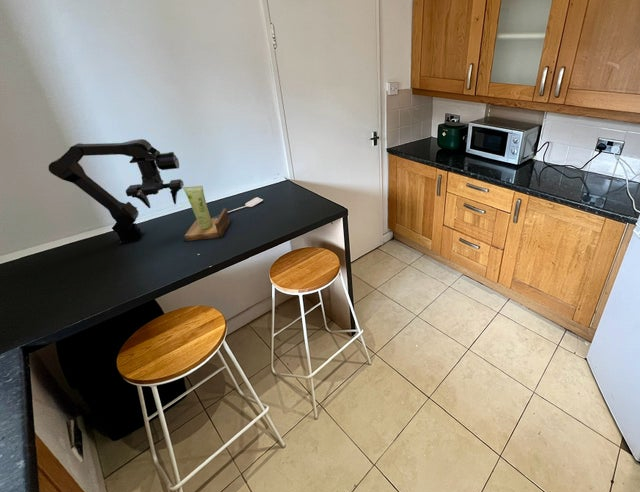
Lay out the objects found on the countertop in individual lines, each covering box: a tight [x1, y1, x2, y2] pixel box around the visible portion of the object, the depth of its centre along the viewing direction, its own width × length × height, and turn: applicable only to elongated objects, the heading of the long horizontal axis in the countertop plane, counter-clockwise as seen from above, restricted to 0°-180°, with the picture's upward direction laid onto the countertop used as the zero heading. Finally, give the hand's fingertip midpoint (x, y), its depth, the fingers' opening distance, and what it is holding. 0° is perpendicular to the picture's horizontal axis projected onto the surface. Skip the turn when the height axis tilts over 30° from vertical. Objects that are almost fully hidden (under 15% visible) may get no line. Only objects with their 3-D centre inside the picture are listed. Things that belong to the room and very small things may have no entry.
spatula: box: [210, 196, 264, 219], centre depth 156 cm, size 6×29×2 cm, turn 145°
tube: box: [182, 185, 212, 229], centre depth 134 cm, size 6×5×20 cm
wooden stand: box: [184, 207, 231, 242], centre depth 138 cm, size 14×14×7 cm
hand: (162, 205), depth 133 cm, fingers open, 9 cm apart
